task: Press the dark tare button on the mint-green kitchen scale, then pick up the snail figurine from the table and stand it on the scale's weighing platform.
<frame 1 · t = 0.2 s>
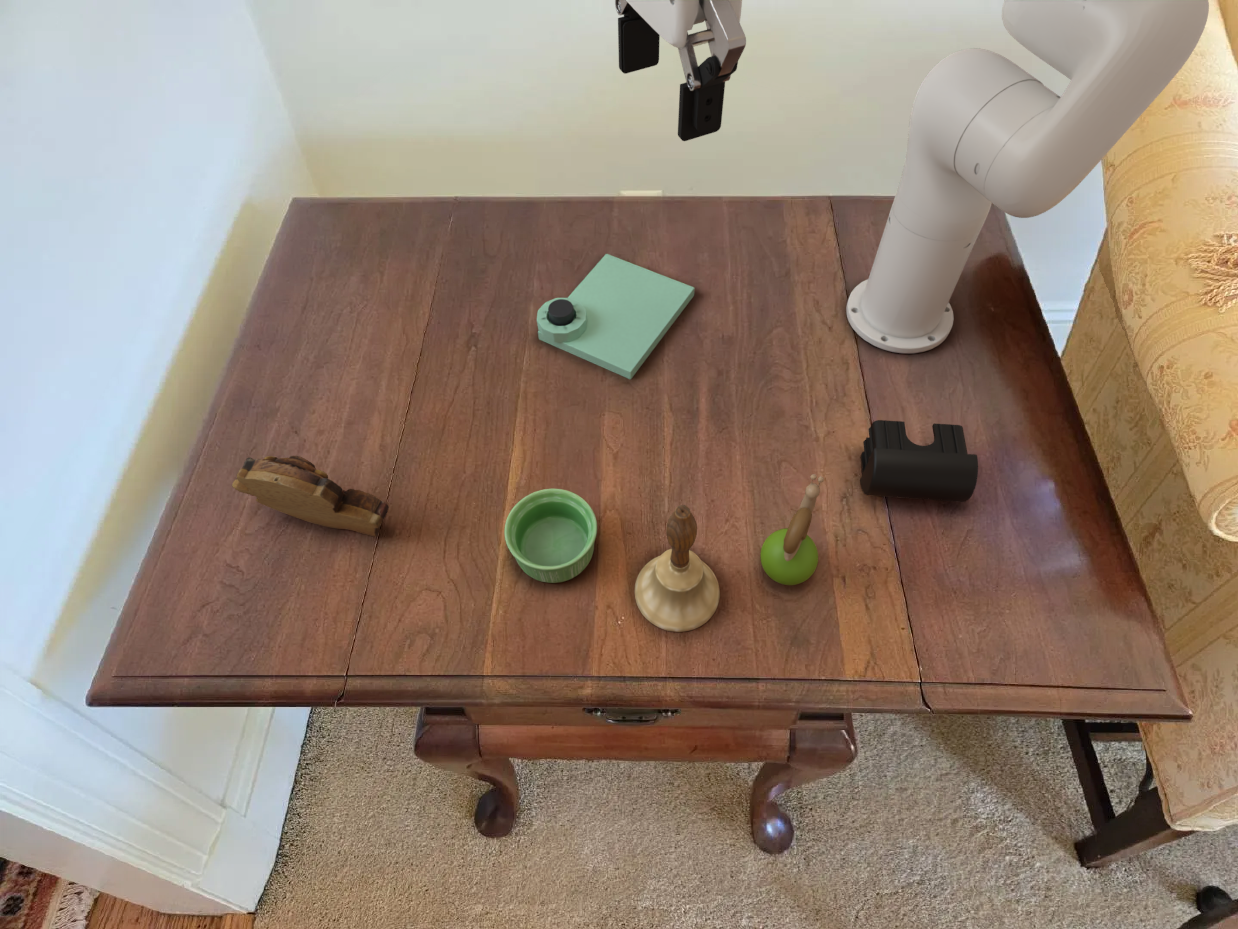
hand: (667, 99, 58), 37 cm above the table, tool pointing down, fingers open, 9 cm apart
end cap: (905, 485, 82), on the table
ramekin: (554, 549, 79), on the table
snail figurine: (786, 565, 77), on the table
scale: (617, 317, 97), on the table
wooden carving: (325, 518, 82), on the table
tare button: (561, 312, 93), point 3 cm above the table, slide at 0.1 cm
hand bell: (676, 592, 76), on the table
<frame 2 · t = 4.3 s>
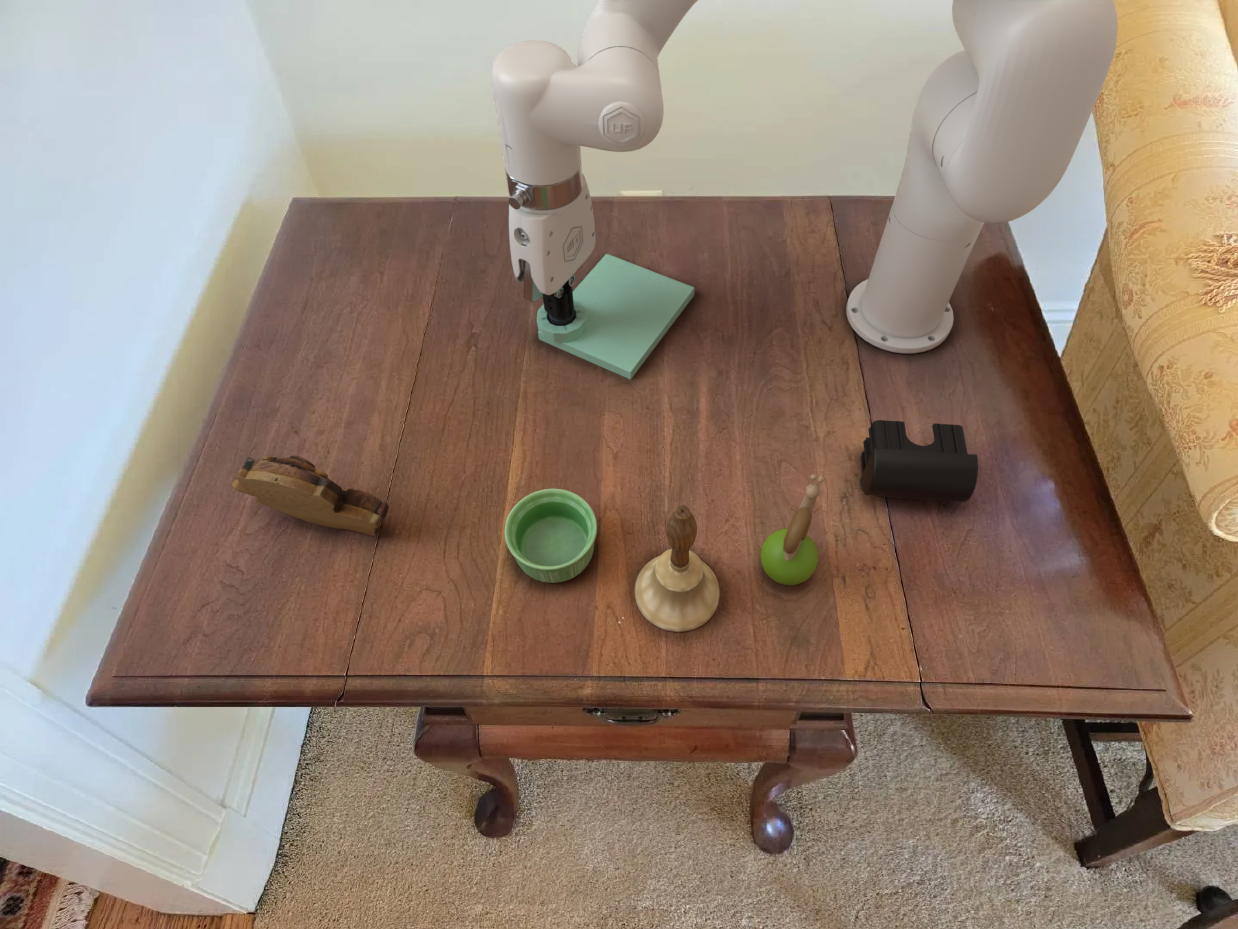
hand: (559, 311, 92), 4 cm above the table, tool pointing down, fingers closed
tare button: (561, 316, 93), point 3 cm above the table, slide at -0.5 cm, touching gripper
everything else where it was.
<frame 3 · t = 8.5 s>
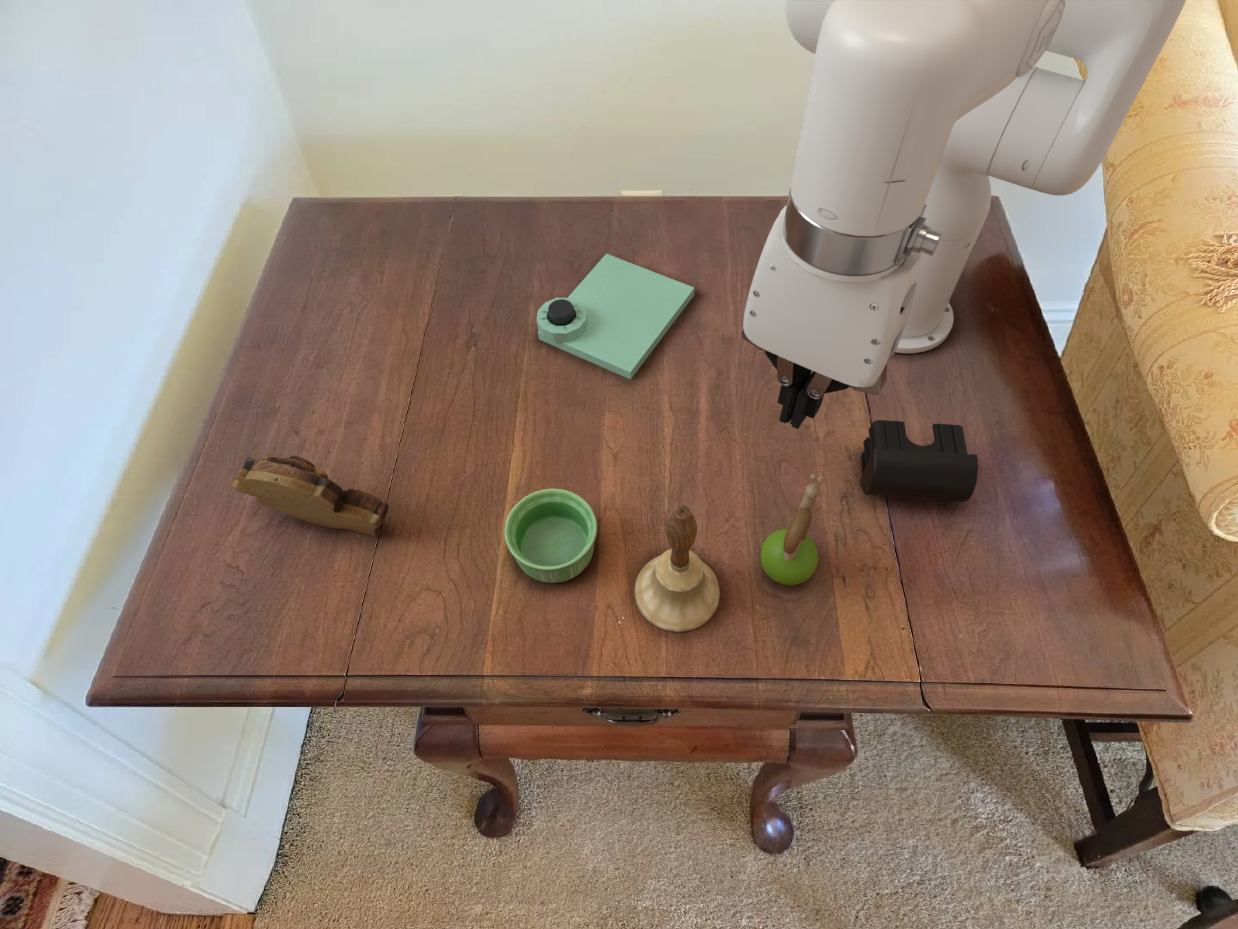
hand: (796, 412, 61), 21 cm above the table, tool pointing down, fingers closed
tare button: (561, 312, 93), point 3 cm above the table, slide at 0.1 cm
everything else where it was.
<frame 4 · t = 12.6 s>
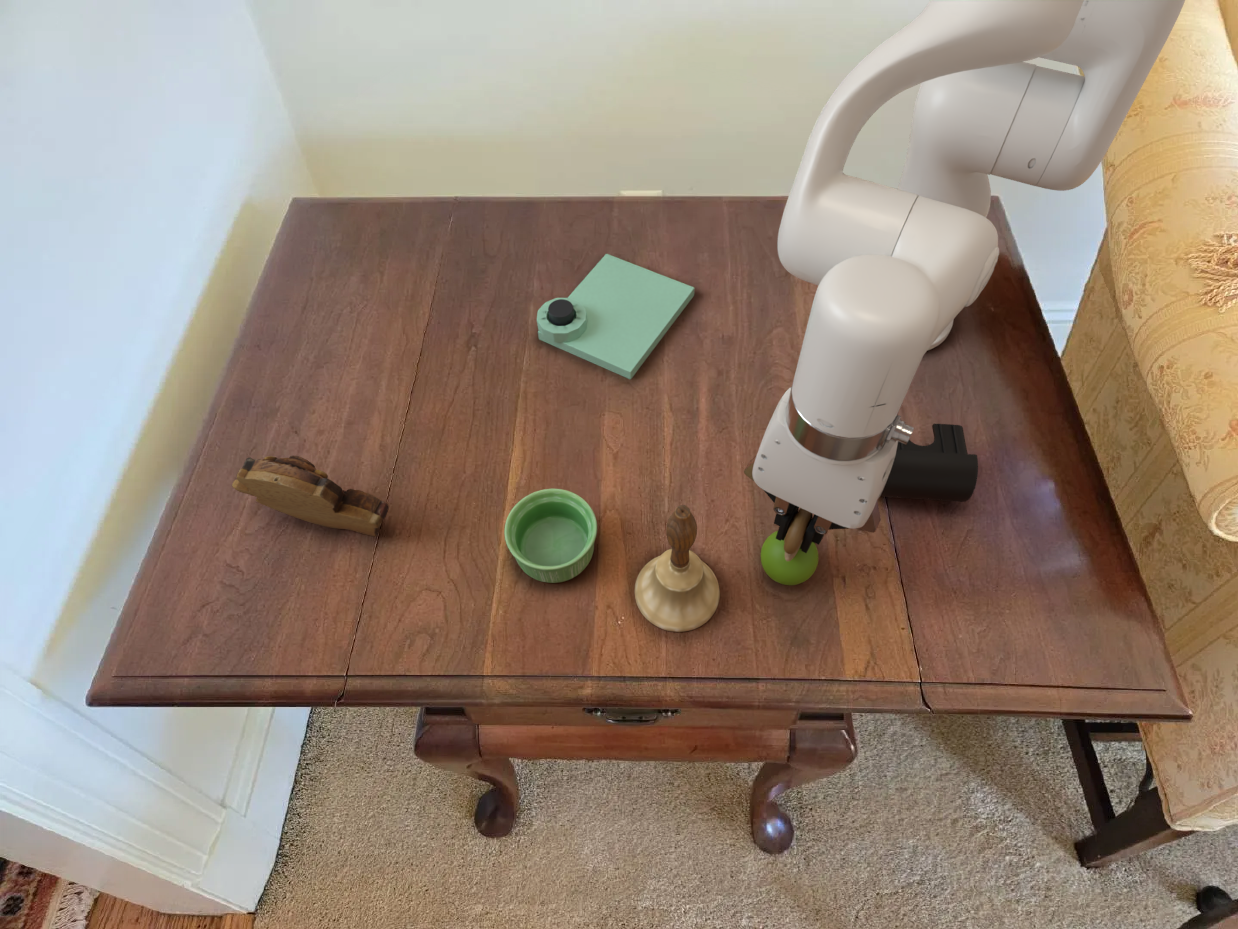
hand: (797, 533, 72), 7 cm above the table, tool pointing down, fingers closed on snail figurine
snail figurine: (786, 565, 77), on the table, touching gripper
everything else where it was.
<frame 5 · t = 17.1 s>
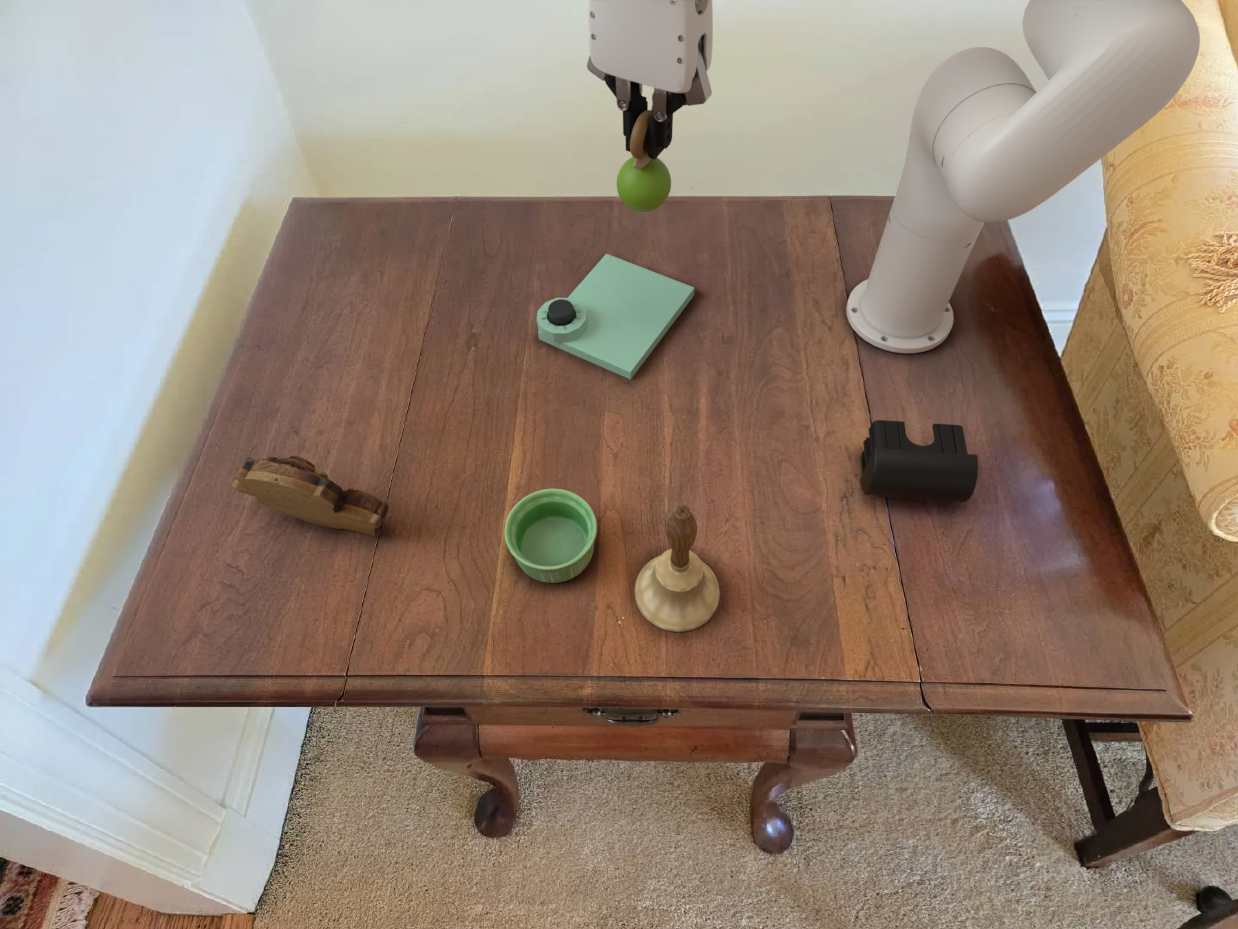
hand: (647, 146, 74), 25 cm above the table, tool pointing down, fingers closed on snail figurine
snail figurine: (644, 204, 80), point 18 cm above the table, touching gripper
everything else where it was.
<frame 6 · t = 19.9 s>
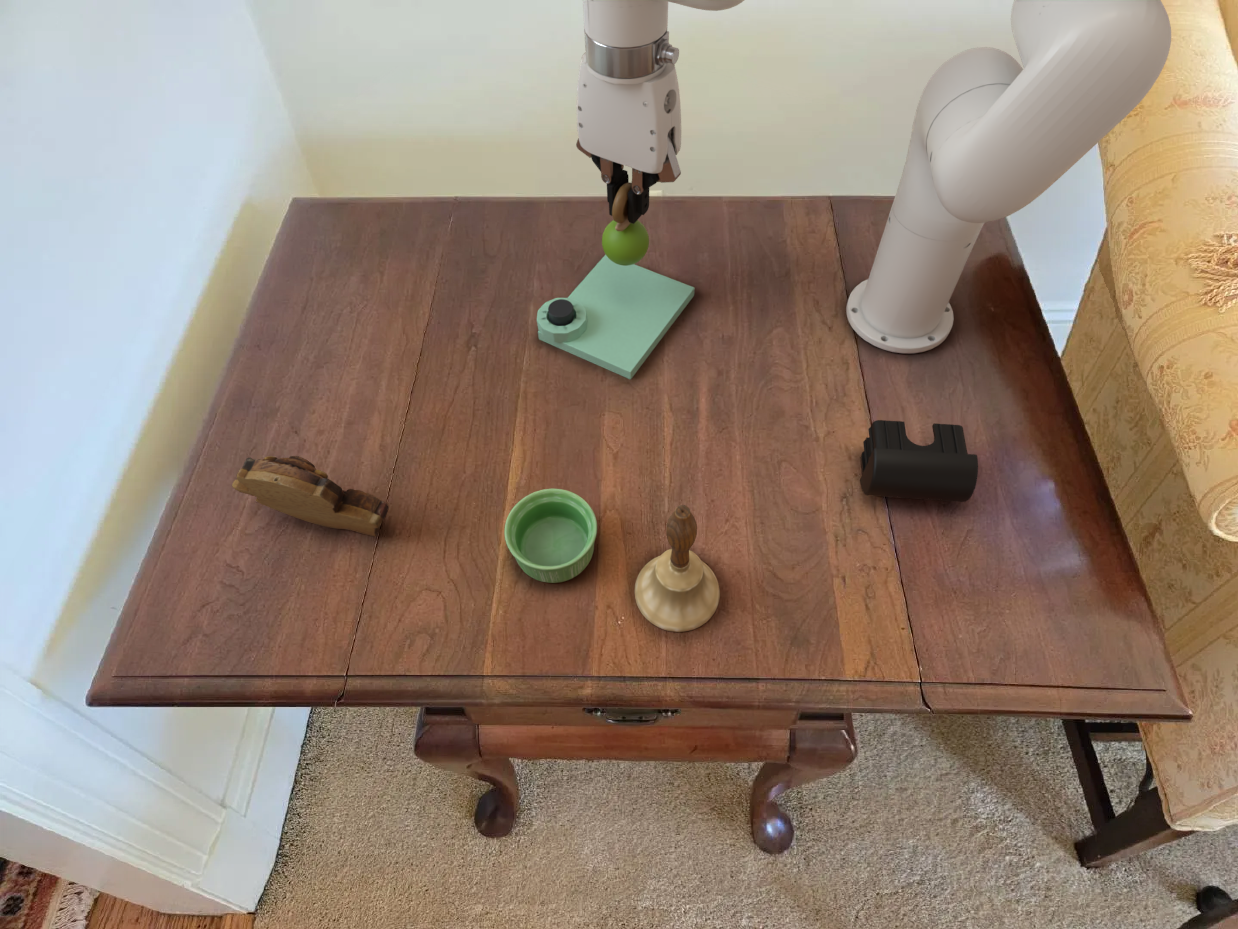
hand: (628, 211, 86), 14 cm above the table, tool pointing down, fingers closed on snail figurine
snail figurine: (626, 257, 92), point 7 cm above the table, touching gripper
everything else where it was.
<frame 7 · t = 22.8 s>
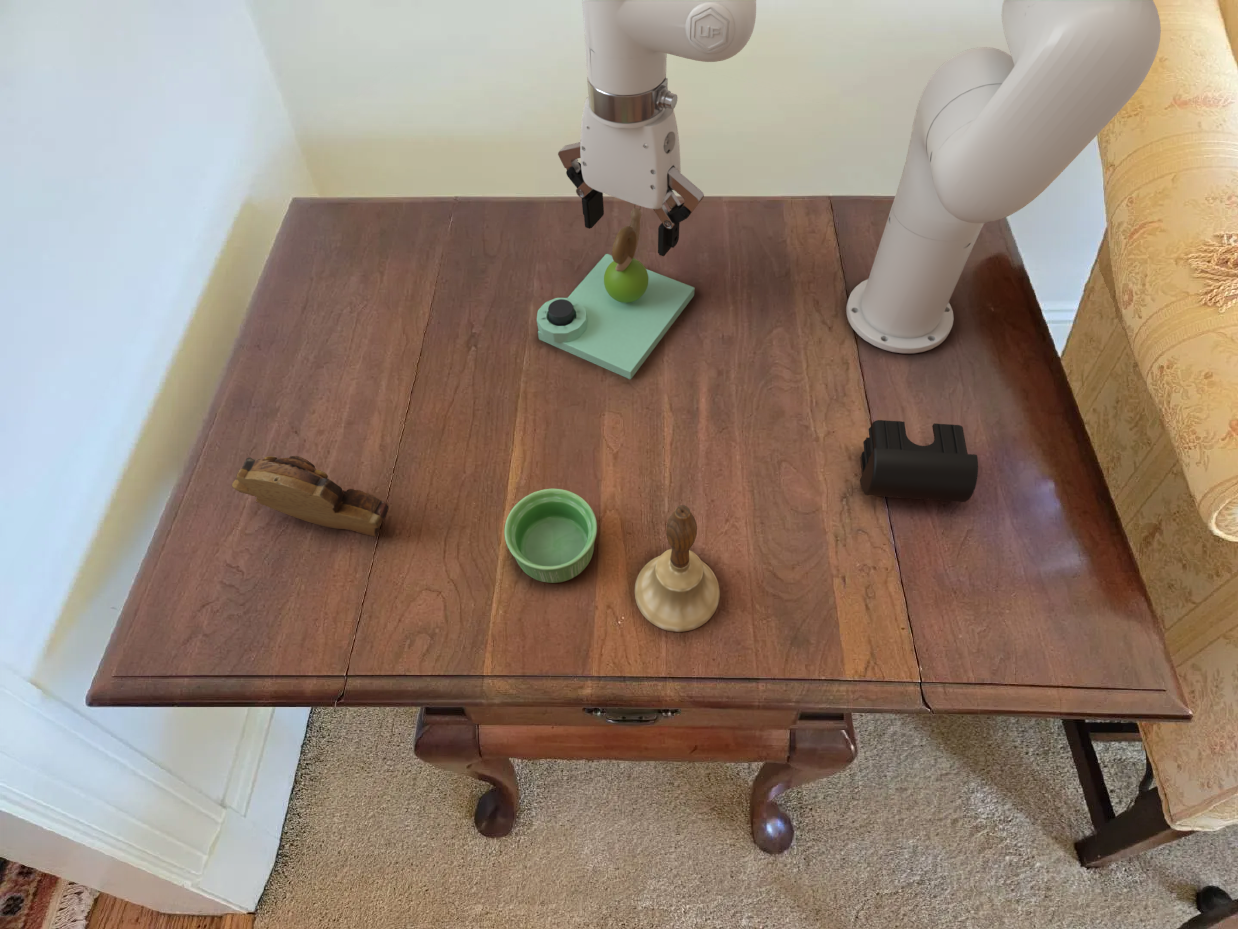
hand: (630, 234, 89), 11 cm above the table, tool pointing down, fingers open, 9 cm apart
snail figurine: (628, 294, 97), point 1 cm above the table, touching scale
everything else where it was.
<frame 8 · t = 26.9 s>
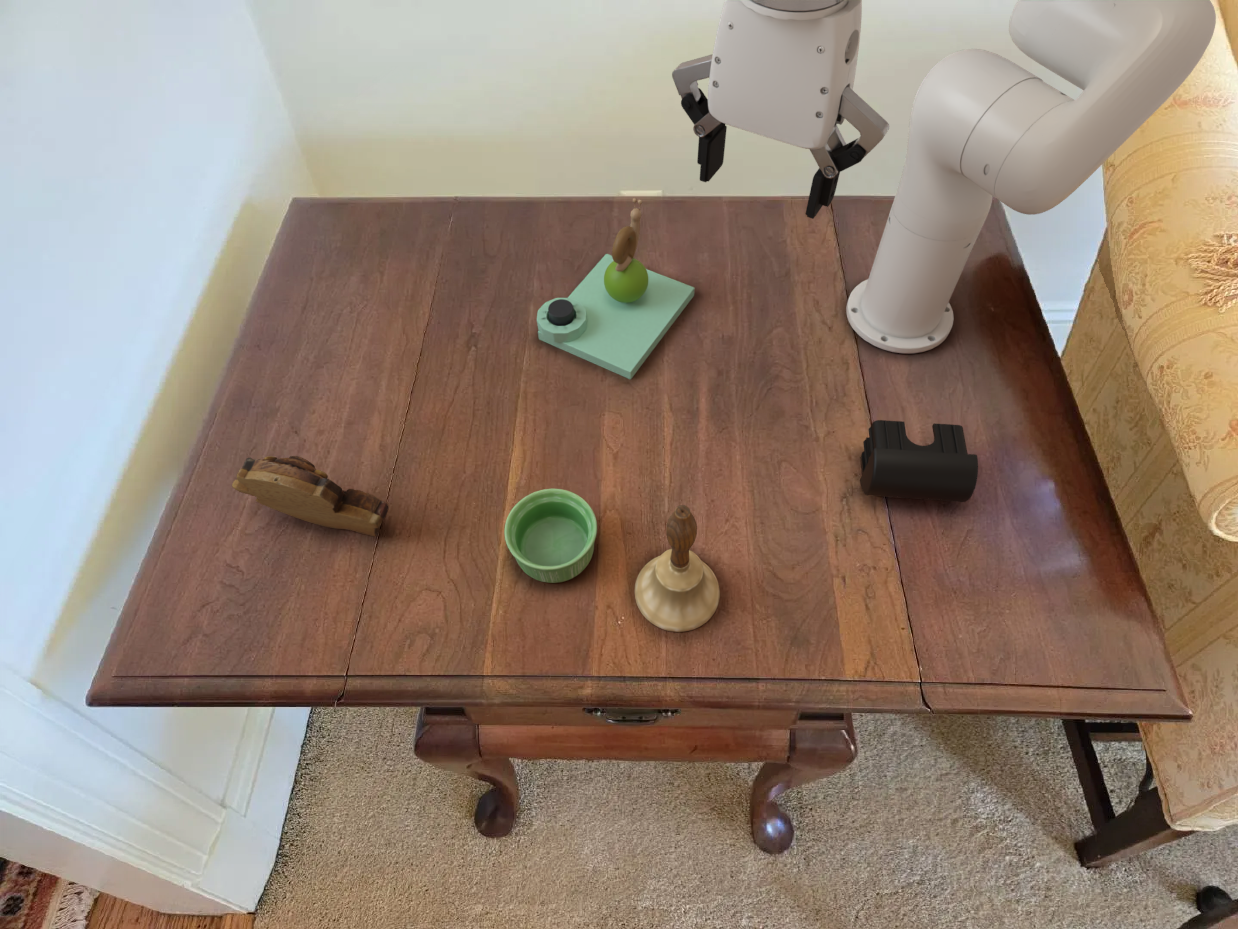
hand: (762, 190, 65), 28 cm above the table, tool pointing down, fingers open, 9 cm apart
nothing on the table moved.
at the end: tare button pushed in 0.9 cm at the most during the clip, back to where it started at the end; snail figurine inside the target area on the scale (0.2 cm from its centre), point 1.2 cm above the scale's base; snail figurine touching scale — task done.
